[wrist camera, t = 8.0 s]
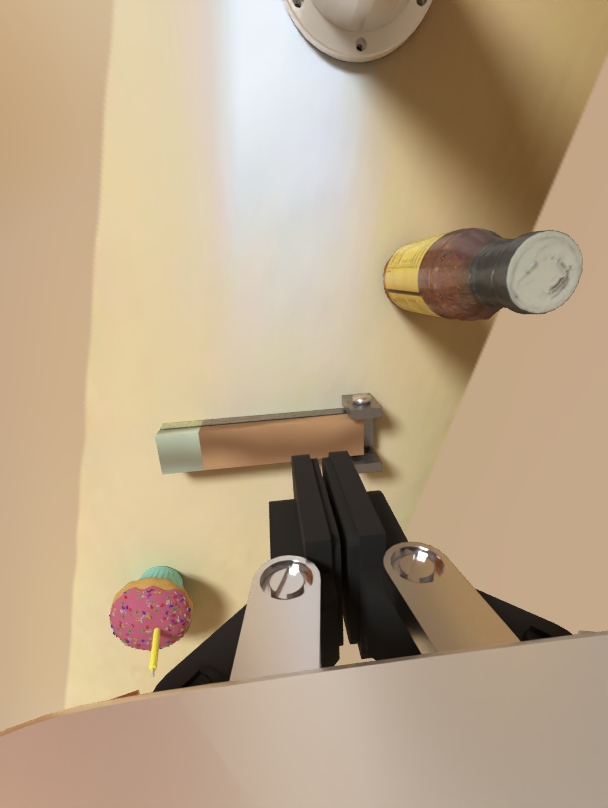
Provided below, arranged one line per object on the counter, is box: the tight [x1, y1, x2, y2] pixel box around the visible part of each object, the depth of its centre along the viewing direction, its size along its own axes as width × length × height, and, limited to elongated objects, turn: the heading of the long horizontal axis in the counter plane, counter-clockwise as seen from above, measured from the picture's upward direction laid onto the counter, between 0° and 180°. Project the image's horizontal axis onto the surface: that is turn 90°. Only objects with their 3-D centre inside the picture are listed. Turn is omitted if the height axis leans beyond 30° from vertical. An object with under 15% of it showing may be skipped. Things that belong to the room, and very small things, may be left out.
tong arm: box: [155, 414, 364, 474], centre depth 40 cm, size 4×20×2 cm, turn 93°
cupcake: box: [109, 566, 193, 677], centre depth 42 cm, size 9×8×12 cm
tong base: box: [160, 393, 382, 474], centre depth 40 cm, size 8×22×4 cm, turn 93°
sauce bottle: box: [383, 228, 583, 321], centre depth 29 cm, size 6×6×20 cm
